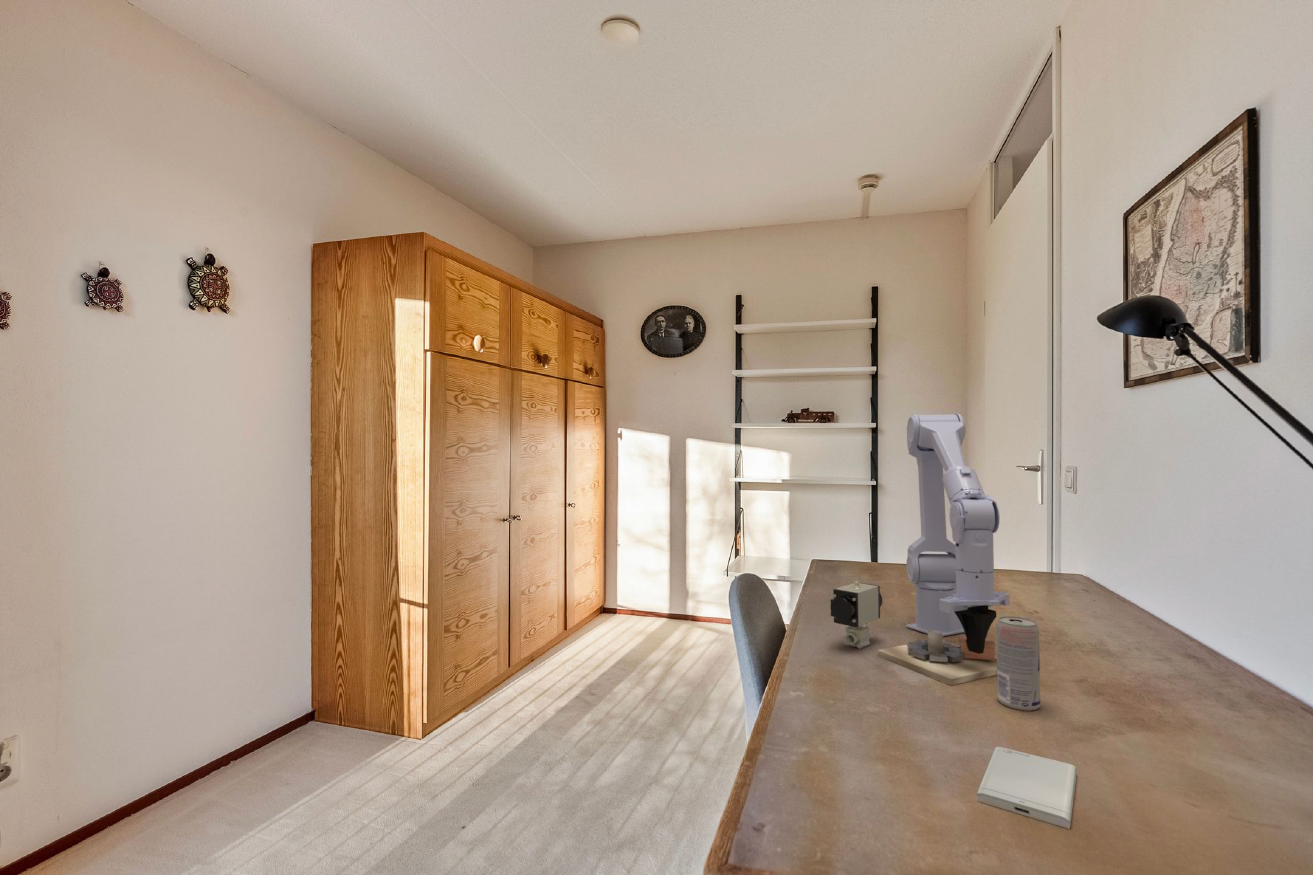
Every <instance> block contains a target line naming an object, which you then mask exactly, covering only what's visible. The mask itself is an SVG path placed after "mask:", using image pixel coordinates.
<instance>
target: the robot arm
mask: <svg viewBox="0 0 1313 875" xmlns="http://www.w3.org/2000/svg"><path fill="white" fill-rule="evenodd" d="M906 424H907V425H906V440H907V442H906V444H907V450H908V455H910V456H912V457H914V458H916V463H917V471H918V492H919V512H920V513H919V514H920V515H919V516H920V517H919V518H920V537H919V538H917V540H915V541H914V542H912V543H911V544H910V545H909V546H908V548H907V558H906V574H907V578H908V580H909V581H910V583H911V584H913V585H914V586H915V620H916V621H915V622H914V623H909V624H908V623H907V624H906V628H908V629H912V630H915V631H918V632H921V633H925V634H926V635H928V631H929V630H936V631H940V632H942V633H943V637H945V636H946V637H947V636H951V635H956V634H963V633H964V635H966V638H967V646H968V650H969V651H971V652H975V653H978V654H982V653H983V652H984V647H985V639H986V637H988V636H987V635H988V633H989V631H990V628H991V625H992V624H993V622H994V621H995V619H997V610H993V609H989V608H991V607H997V606H1010V593H1006V592H1002V591H997V592H995V564H994V562H995V559H994V557H995V555H994V553H995V552H994V534H995V533H997V531H998V530H999V526H1000V522H1001V521H1000V518H1001V516H1000V509H999V506H998V504H997V501H996V500H995V499H994V498H992V497H991V496H990V495H989V494H986V493H985V492H984V490H983V486H982V484H981V481H980V480H979V477H978V475H977V472H976V470H975V469H973V467H970V466H967V463H966V460H965V456H964V451H963V448H962V446H963V442H964V439H965V438H966V421H965V418H964V417H963V416H962V415H961V414H960V413H954V414H947V413H946V414H916V413H913V414H911V415H910V416H909V418H908V420H907V423H906ZM945 494H946V497H947V499H948V502H949V505H950V507H949V523H950V527H951V531H952V532H951V533H952V537H951V538H952V541H953V542H952V541H951V540H950V539H948V538H947V520H946V518H947V517H946V515H947V514H946V500H945ZM926 552H927V553H926ZM928 552H932V553H928ZM933 552H934V553H933ZM935 552H936V553H935ZM937 552H938V553H937ZM939 552H940V553H939Z"/></svg>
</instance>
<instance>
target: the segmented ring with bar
mask: <svg viewBox="0 0 1313 875" xmlns="http://www.w3.org/2000/svg"><path fill="white" fill-rule="evenodd" d="M946 642H947V641H945V643H943V651H945V652H944V653H939V652H930V651H927V650H924V649H928V639H927V640H926V639H924V640H920V639H919V640H914V641H913V640H912V641H909V642H908V643H906V645H907V650H908V653H911V655H913V656H916V657H919V658H921V659H929V660H930V661H939V662H948V661H951V662H956V661H960V660H964V658H972V659H983V660H994V661H995V658H996V656H995V640H994V638H992V637H991V636H986V639H985V647H984V652H983V653H982V654H978V653H975V652H971V651H969V650H968V646H967V638H966V635H965V634H959V645H957V644H954V643H951V642H948V643H946ZM950 643H951V644H950ZM953 644H954V645H953ZM956 645H957V646H956ZM959 646H960V647H959Z"/></svg>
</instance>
